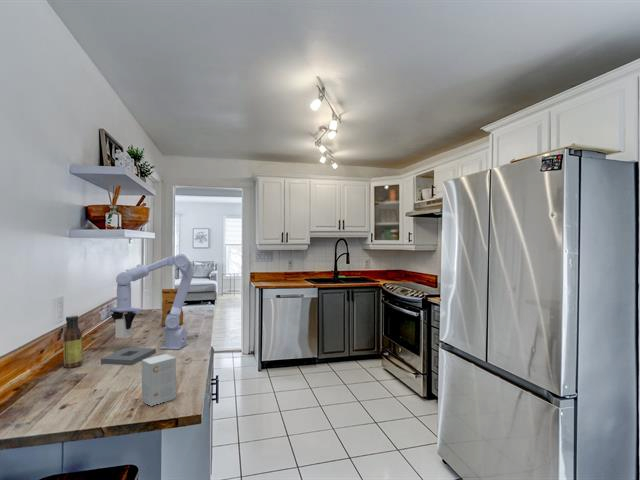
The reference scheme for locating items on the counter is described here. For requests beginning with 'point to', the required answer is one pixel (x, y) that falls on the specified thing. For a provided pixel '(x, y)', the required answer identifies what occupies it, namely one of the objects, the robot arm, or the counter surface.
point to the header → (128, 356)
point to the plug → (122, 329)
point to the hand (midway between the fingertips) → (123, 328)
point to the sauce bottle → (72, 343)
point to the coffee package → (169, 304)
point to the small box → (158, 379)
